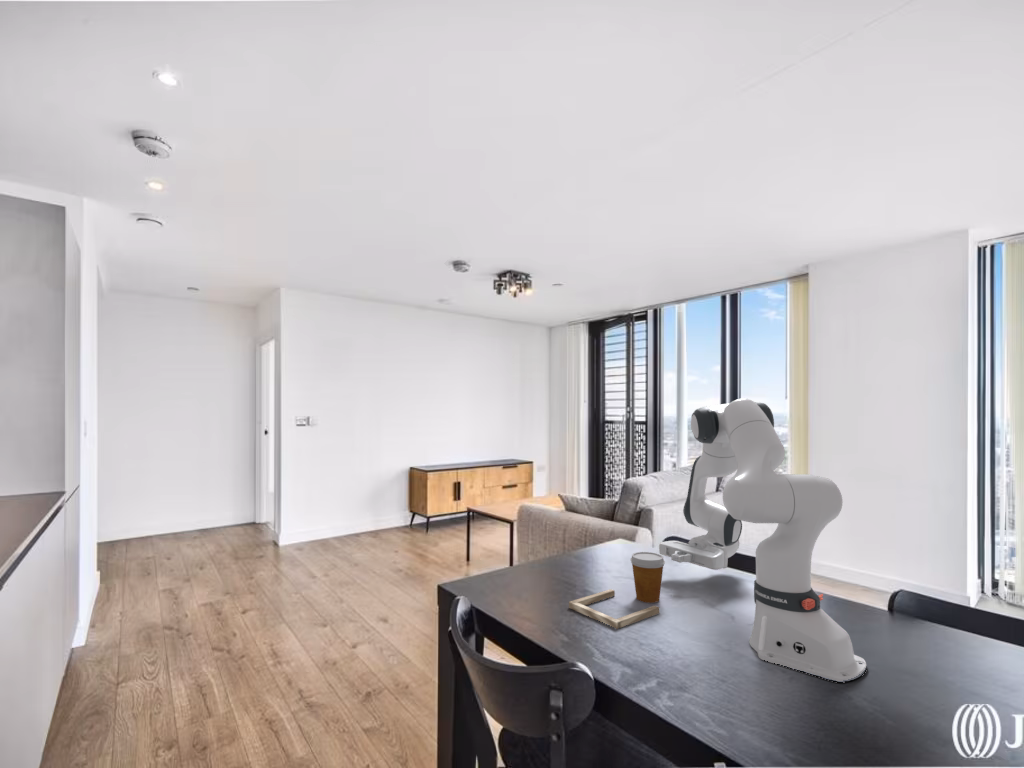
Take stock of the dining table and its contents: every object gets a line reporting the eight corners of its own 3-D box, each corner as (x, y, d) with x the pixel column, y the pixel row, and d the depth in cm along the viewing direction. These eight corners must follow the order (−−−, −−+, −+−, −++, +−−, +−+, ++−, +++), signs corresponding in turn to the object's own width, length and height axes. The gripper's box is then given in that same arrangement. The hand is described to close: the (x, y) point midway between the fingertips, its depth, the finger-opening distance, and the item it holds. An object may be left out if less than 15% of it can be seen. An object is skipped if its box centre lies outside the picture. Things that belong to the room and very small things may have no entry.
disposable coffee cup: (669, 605, 143) (669, 561, 144) (634, 605, 144) (634, 560, 144) (660, 593, 153) (659, 551, 153) (627, 592, 153) (627, 551, 154)
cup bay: (659, 613, 138) (659, 607, 138) (616, 629, 128) (616, 622, 128) (610, 594, 151) (610, 589, 152) (568, 607, 142) (568, 601, 142)
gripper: (674, 533, 174) (647, 540, 165) (731, 548, 157) (705, 556, 149) (674, 553, 173) (647, 560, 165) (732, 569, 157) (705, 578, 149)
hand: (675, 558), depth 157 cm, fingers closed
